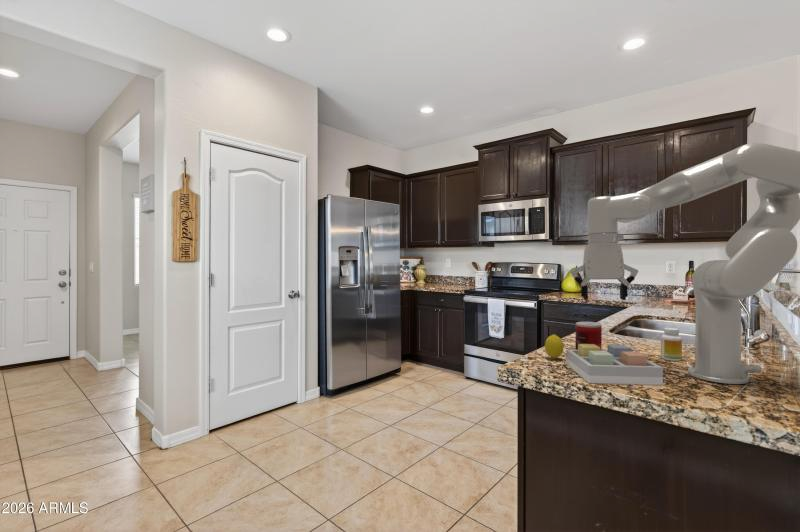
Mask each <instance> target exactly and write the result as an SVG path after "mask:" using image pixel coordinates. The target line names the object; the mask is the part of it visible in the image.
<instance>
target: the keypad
mask: <svg viewBox="0 0 800 532" xmlns="http://www.w3.org/2000/svg"><path fill="white" fill-rule="evenodd" d="M600 351H607V352H608V349H605V350H604V349H601V350H600ZM566 366H568V367H569V368H570V369H572V370H573V371H574V372H575V373H577V374H578V376H580V378H582V379H583V378H584V379H583V380H584V381H586V382H587V383H588V384H602V385H603V384H606V385H607V384H609V385H642V386H643V385H644V386H645V385H646V386H647V385H648V386H664V367H663V366H660V365H659V364H656V363H655V362H653V361H650V360H648V359H647V366H626V365H625V364H623V363H621V357H613V365H593V364H591V363H590V362H589V357H581V356H580V355H579V354H578V350H576V349H566Z"/></svg>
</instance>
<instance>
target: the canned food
mask: <svg viewBox="0 0 800 532" xmlns="http://www.w3.org/2000/svg"><path fill="white" fill-rule="evenodd" d="M602 329H603V328H602V324H601V323H599V322H595V321H578V322H575V350H578V344H594V345H596V346H598V347H600V350H602V342H603V341H602V338H603V337H602V333H603V332H602Z"/></svg>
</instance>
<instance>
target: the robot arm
mask: <svg viewBox="0 0 800 532" xmlns="http://www.w3.org/2000/svg"><path fill="white" fill-rule="evenodd" d="M753 178H755V179H756V182H755V184H756V185H755V188H756V191H757V194H758V198H759V205H758V208H757V210H756V211H755V212H754V214H752V216H751V217H750V218H749V219H748V220H747V221H746V222H745V223H744V224H743V225H742V226H741V227H740V228H739V229H738V230H737V231H736V232H735V233H733V235H732V236H731V237H730V238H729V240H728V241H727V243H726V244H725V253H726V256H727V257H728V258H729V260H728V259H726V260H725V259H715V260H709V261H705V262H703V263H701V264H700V265H698V266H697V267H696V268H695V270H694V271H693V274H692V277H691V280H692V281H691V282H692V283H691V285H692V289H693V294H694V304H695V306H694V307H695V312H694V313H695V314H694V315H695V322H694V323H695V325H694V326H695V332H694V334H695V335H694V337H695V338H694V341H695V343H694V344H695V345H694V346H695V347H694V352H695V353H694V364H695V365H694V366H691V367H689V368H687V373H688V374H689V375H690V376H692V377H693V378H696V379H700V380H704V381H709V382H711V383H719V384H729V385H742V384H747V383H749V382H750V380H749V376H748V375H747V374H748V373H761V372H762V366H760V365H759V364H747V363H745V362H742V308H741V304H740V300H739V299H746V298H750V297H752V296H754V295H756V294H757V293H758V292H760V291H761V290H762V289H764V288H765V287H766V286H767V284H769V283H770V282H771V281H772V280H773V279H774V278H775V277H776V276H777V275H778V274H779V273H780V272H781V271H782V270H783V269H784V268H785V267H786V266H787V265H789V263H790V262H791V260H793V258H794V257H795V254H796V253H797V249H798V239H797V238H796V235H795V234H794V233H793V232H792V230H793V229H794V228H795V227H796V225H797V224H798V223H799V221H800V195H799V194H800V151H799V150H794V149H790V148H787V147H782V146H778V145H773V144H769V143H768V144H767V143H761V142H760V143H759V142H751V143H749V142H748V143H746V144H742V145H741V146H739V147H736V148H734V149H731V150H730V151H728V152H725V153H723V154H721V155H720V154H719V155H718V156H715V157H713V158H710V159H708V160H706V161H703V162H701V163H698V164H696V165H694V166H691V167H689V168H686V169H684V170H681V171H678V172H676V173H674V174H672V175H670V176H668V177H666V178H665V179H663V180H661V181H659V182H657V183H655V184H653V185H651V186H649V187H646V188H644V189H642V190H639V191H636V192H632V193H626V194H622V195H621V194H620V195H614V196H613V195H610V196H609V195H603V196H595V197H591V198H589V200H588V201H587V241H588V245H585V246H584V249H583V250H584V251H583V261H582V262H583V264H581V265H580V266H578V267H576V268H574V269H572V270H571V271H570V274H571V276H572V278H573V279H574V281H575V282H576V283H578V284H579V285H580V296H581V298H583V300H584V301H588V300H589V293H588V292H589V291H588V289H589V288H588V286H587V284H588V283H589V282H590V281H591V280H617V281H618V282H619V283H620V285H619V299H620V300H622V301H626V300H627V299H626V298H628V295H629V294H628V293H629V292H628V286H629V285H630V284H631V283H632V282H634V281H635V278H636V277H637V275H638V273H639V270H638V269H636V268H634V267H632V266H630V265H628V264H625V261H624V256H623V255H624V254H623V250H622V245H621V244H620V243H619V242H620V241H624V235H623V234H622V235H621V234H620V233H618V232H619V230H618V223H624V224H627V223H628V224H629V223H631V222H634V221H639V220H643V219H644V218H645V217H647V216H648V215H651V214H653V213H656V212H659V211H662V210H664V209H665V210H666V209H668V208H671V207H675V206H679V205H683V204H687V203H689V202H691V201H694V200H697V199H699V198H702V197H704V196H707V195H709V194H712V193H716V192H717V191H720V190H723V189H725V188H728V187H731V186H733V185H735V184H738V183H741V182H743V181H746V180H749V179H753ZM625 271H627V272H629V275H628V276H627V278H625ZM580 272H583V273H582V274H583V278H582V279H581V278H580V277H579V275H578V273H580Z"/></svg>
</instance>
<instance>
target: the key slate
mask: <svg viewBox="0 0 800 532" xmlns="http://www.w3.org/2000/svg"><path fill="white" fill-rule="evenodd" d="M607 350H608V352H609V353H610V354H612V355H613V357H621V351H629V352H633V350H632V347H630V346H628V345H626V344H607Z"/></svg>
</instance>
